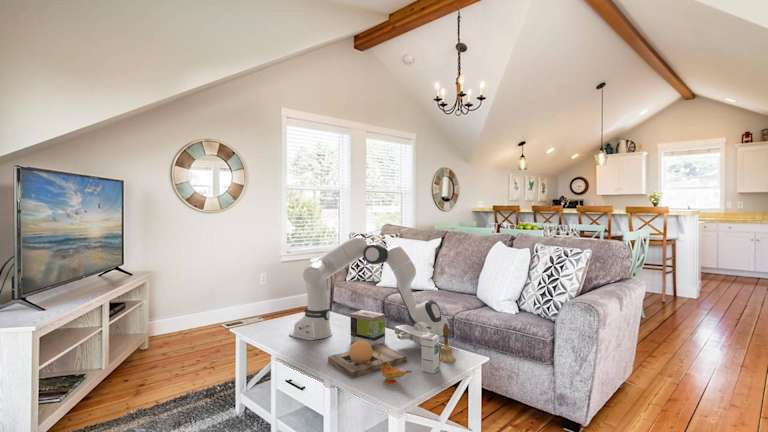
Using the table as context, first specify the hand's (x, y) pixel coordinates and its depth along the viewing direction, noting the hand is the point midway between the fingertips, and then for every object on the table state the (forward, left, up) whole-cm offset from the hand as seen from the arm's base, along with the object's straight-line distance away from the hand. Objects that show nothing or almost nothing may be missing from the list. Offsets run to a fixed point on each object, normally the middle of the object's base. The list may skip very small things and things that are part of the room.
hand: (399, 337), depth 182 cm
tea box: (-19, +9, -8) cm, 23 cm away
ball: (-12, -17, -3) cm, 21 cm away
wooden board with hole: (-10, -14, -8) cm, 19 cm away
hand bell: (+22, +1, -8) cm, 23 cm away
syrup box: (+18, -13, -8) cm, 23 cm away
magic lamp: (+7, -29, -8) cm, 31 cm away
